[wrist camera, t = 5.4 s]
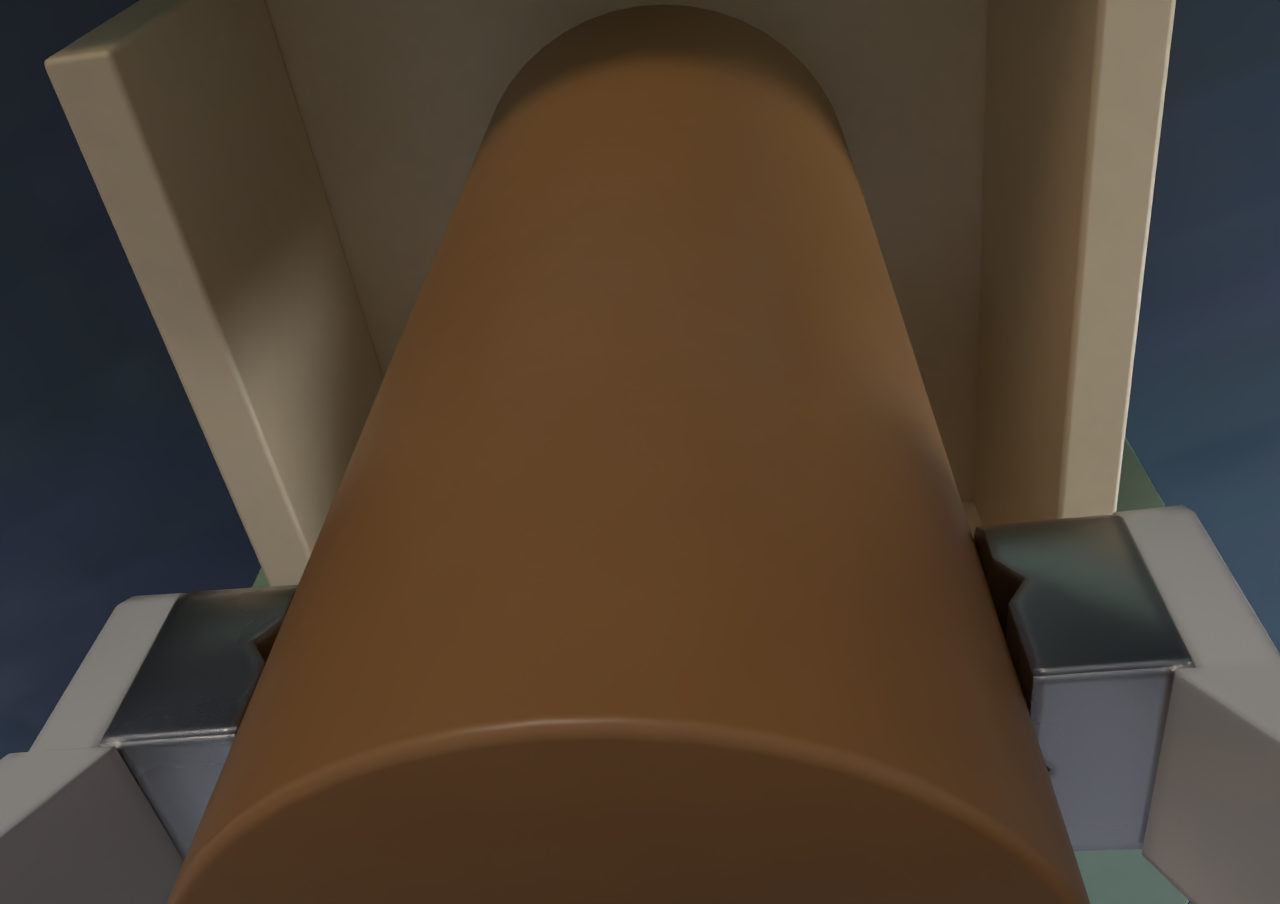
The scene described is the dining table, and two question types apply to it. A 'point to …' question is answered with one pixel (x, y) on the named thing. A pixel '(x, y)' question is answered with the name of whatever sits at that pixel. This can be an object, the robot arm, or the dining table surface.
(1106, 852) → the cabinet
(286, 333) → the drawer
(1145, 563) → the robot arm
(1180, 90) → the dining table surface
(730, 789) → the paper roll
